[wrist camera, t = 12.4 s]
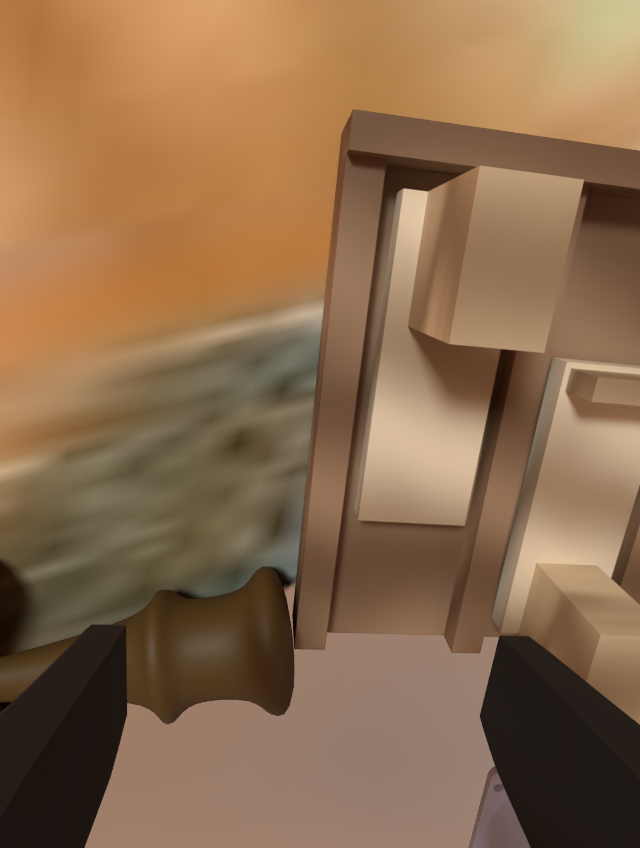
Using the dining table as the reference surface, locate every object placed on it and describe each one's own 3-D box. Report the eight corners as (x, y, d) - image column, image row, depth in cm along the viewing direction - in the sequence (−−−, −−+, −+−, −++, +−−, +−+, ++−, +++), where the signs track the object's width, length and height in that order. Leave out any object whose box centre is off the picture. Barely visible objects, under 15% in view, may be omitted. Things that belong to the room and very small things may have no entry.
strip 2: (576, 635, 22) (658, 735, 17) (487, 633, 21) (547, 735, 17) (656, 366, 18) (786, 400, 14) (552, 357, 18) (651, 388, 13)
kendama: (299, 677, 23) (-160, 753, 22) (275, 486, 21) (-251, 556, 19) (312, 805, 18) (-312, 922, 16) (280, 563, 15) (-471, 673, 13)
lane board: (596, 624, 23) (633, 665, 21) (292, 615, 22) (294, 658, 19) (730, 186, 18) (801, 174, 15) (341, 132, 16) (353, 109, 14)
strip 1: (456, 514, 19) (513, 592, 15) (354, 508, 19) (380, 587, 14) (517, 207, 16) (614, 183, 12) (396, 192, 16) (447, 161, 11)
